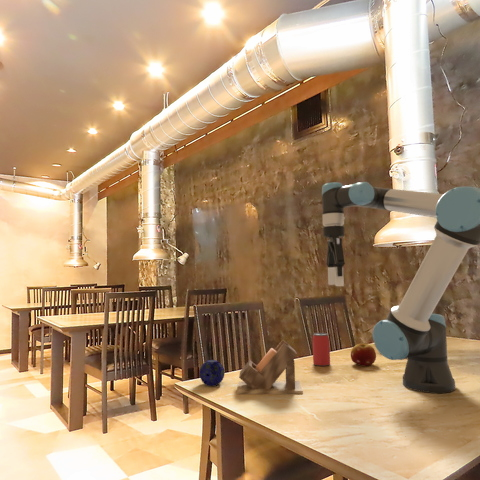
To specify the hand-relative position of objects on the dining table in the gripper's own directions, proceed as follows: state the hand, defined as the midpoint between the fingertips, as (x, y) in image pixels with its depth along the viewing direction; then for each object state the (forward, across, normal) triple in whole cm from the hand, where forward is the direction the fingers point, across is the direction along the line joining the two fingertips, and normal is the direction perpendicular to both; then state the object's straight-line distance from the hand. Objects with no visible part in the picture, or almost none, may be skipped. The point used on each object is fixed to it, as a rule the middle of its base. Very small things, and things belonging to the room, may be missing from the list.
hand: (335, 285), depth 143 cm
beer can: (+32, +18, +3) cm, 37 cm away
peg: (+29, -14, +30) cm, 44 cm away
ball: (+32, -8, +44) cm, 55 cm away
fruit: (+32, +17, -13) cm, 39 cm away
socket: (+33, -14, +25) cm, 44 cm away
